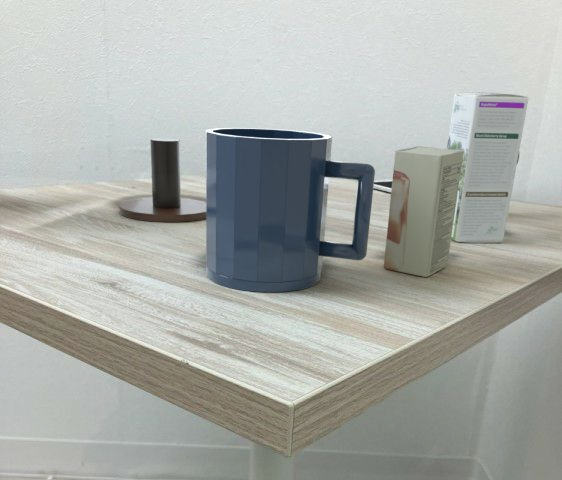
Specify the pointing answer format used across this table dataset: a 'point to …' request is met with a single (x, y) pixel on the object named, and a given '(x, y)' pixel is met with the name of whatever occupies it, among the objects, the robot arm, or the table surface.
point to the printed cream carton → (422, 209)
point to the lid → (164, 189)
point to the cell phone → (383, 185)
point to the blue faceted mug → (276, 208)
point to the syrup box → (485, 161)
